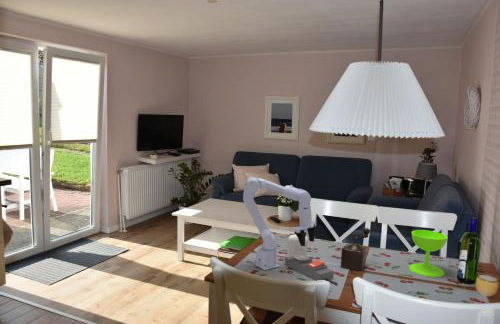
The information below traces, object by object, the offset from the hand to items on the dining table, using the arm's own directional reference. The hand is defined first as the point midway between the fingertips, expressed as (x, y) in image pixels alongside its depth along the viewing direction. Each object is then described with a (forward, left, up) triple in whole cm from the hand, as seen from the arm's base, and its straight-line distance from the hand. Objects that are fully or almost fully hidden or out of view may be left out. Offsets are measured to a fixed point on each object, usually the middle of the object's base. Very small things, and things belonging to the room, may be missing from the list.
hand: (307, 243), depth 193 cm
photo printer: (+5, +12, -12) cm, 18 cm away
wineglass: (+49, -33, -12) cm, 60 cm away
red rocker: (-3, -10, -7) cm, 12 cm away
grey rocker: (-3, 0, -7) cm, 7 cm away
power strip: (-3, -8, -12) cm, 15 cm away
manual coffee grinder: (+24, -10, -12) cm, 28 cm away
